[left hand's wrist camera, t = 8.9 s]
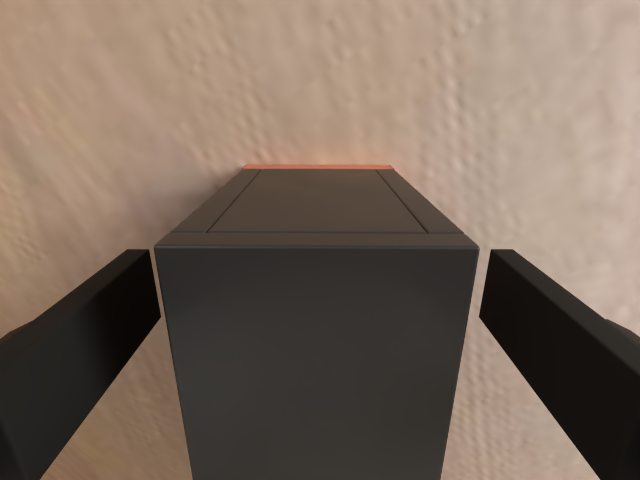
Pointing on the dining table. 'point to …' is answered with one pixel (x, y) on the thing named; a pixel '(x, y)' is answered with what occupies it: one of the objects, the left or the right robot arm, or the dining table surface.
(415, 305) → the cabinet
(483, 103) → the dining table surface
